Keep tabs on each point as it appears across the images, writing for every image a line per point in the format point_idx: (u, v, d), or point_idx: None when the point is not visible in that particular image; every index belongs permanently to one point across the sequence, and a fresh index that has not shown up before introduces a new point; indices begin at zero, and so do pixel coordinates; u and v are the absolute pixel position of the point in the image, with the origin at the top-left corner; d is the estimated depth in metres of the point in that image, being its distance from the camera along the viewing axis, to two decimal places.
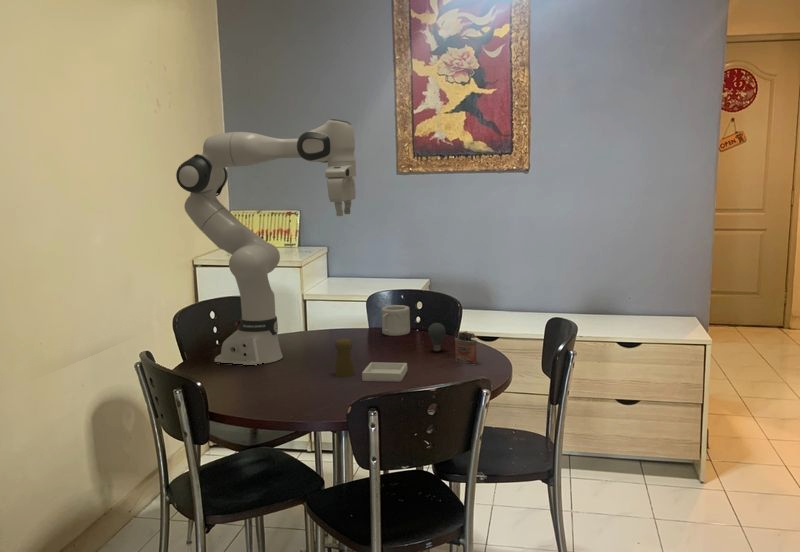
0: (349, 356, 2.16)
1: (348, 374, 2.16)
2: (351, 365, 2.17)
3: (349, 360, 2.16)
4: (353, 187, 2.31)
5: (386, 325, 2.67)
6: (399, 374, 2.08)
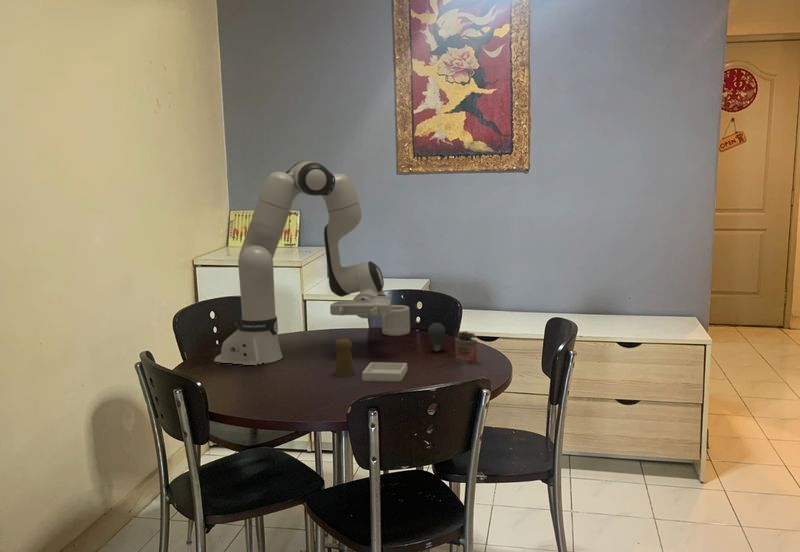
0: (349, 356, 2.16)
1: (348, 374, 2.16)
2: (351, 365, 2.17)
3: (349, 360, 2.16)
4: None
5: (386, 325, 2.67)
6: (399, 374, 2.08)
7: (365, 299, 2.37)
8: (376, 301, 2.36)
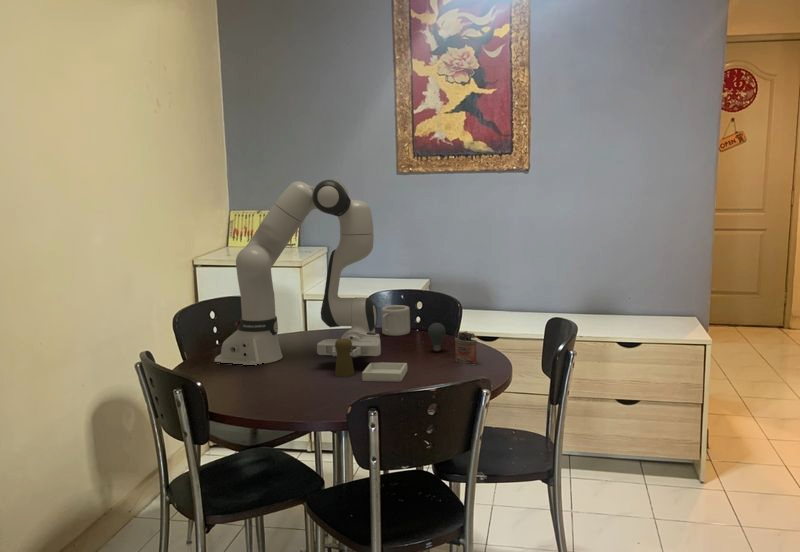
0: (349, 356, 2.16)
1: (348, 374, 2.16)
2: (351, 365, 2.17)
3: (349, 360, 2.16)
4: None
5: (386, 325, 2.67)
6: (399, 374, 2.08)
7: (354, 338, 2.26)
8: (365, 340, 2.25)
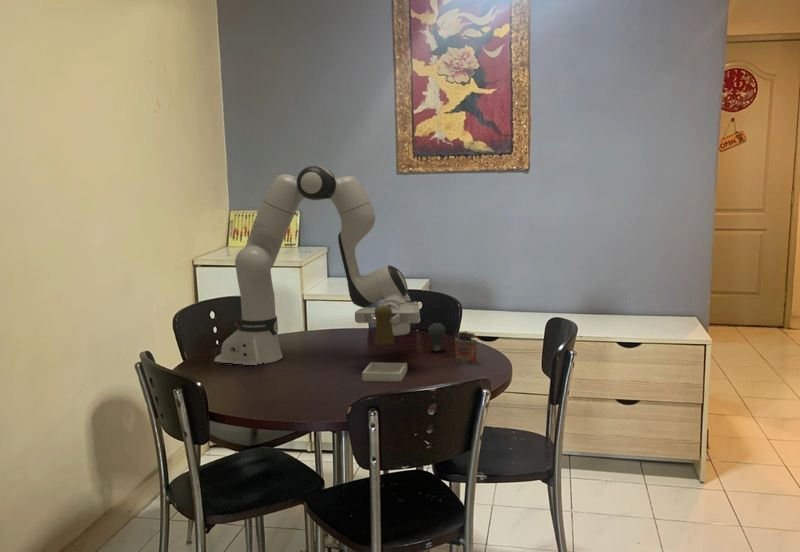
0: (389, 324, 2.11)
1: (388, 342, 2.11)
2: (391, 333, 2.12)
3: (389, 328, 2.11)
4: None
5: None
6: (399, 374, 2.08)
7: (392, 306, 2.21)
8: (404, 308, 2.20)
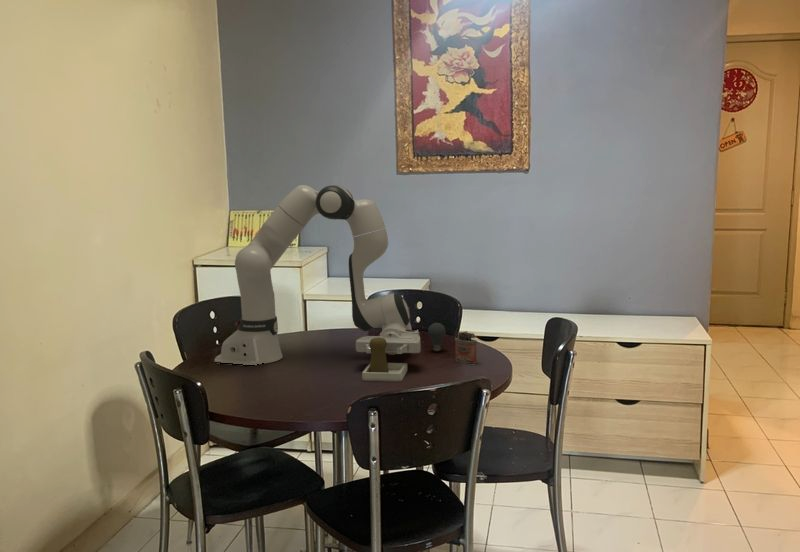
0: (384, 355, 2.13)
1: None
2: (386, 365, 2.13)
3: (384, 360, 2.13)
4: None
5: None
6: (399, 374, 2.08)
7: (393, 335, 2.23)
8: (404, 337, 2.22)
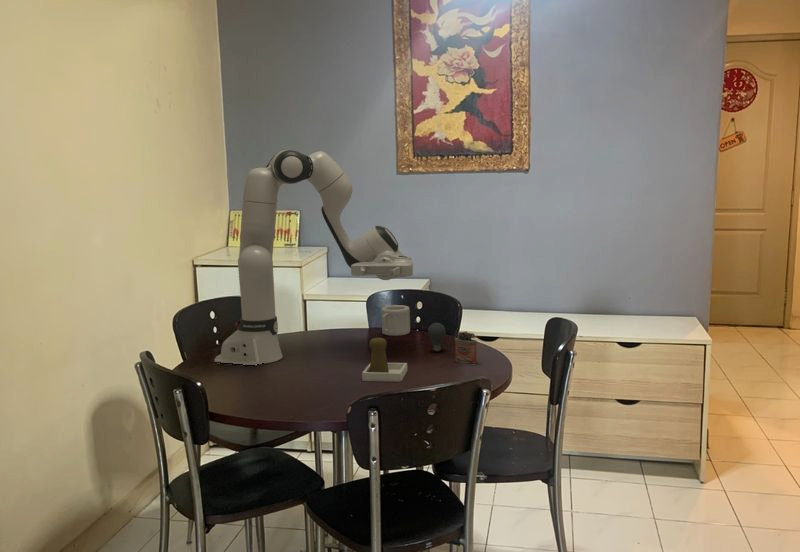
0: (384, 355, 2.13)
1: None
2: (386, 365, 2.14)
3: (384, 359, 2.13)
4: None
5: (386, 325, 2.67)
6: (399, 374, 2.08)
7: (386, 260, 2.33)
8: (397, 262, 2.32)
